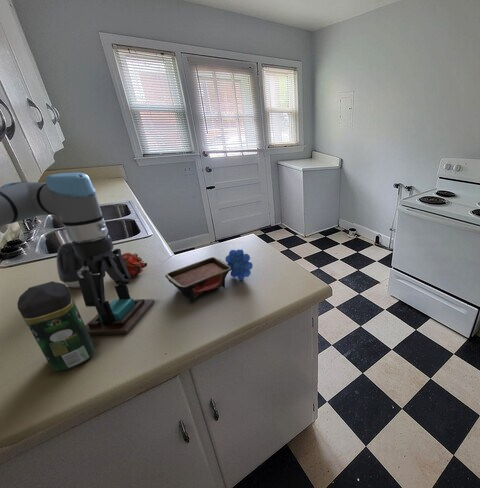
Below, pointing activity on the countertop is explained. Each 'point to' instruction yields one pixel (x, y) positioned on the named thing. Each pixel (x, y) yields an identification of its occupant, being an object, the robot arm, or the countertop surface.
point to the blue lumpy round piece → (239, 263)
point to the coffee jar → (56, 325)
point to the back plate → (120, 325)
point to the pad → (120, 308)
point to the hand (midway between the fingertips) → (118, 313)
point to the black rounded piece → (68, 265)
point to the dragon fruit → (133, 263)
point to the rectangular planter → (199, 277)
